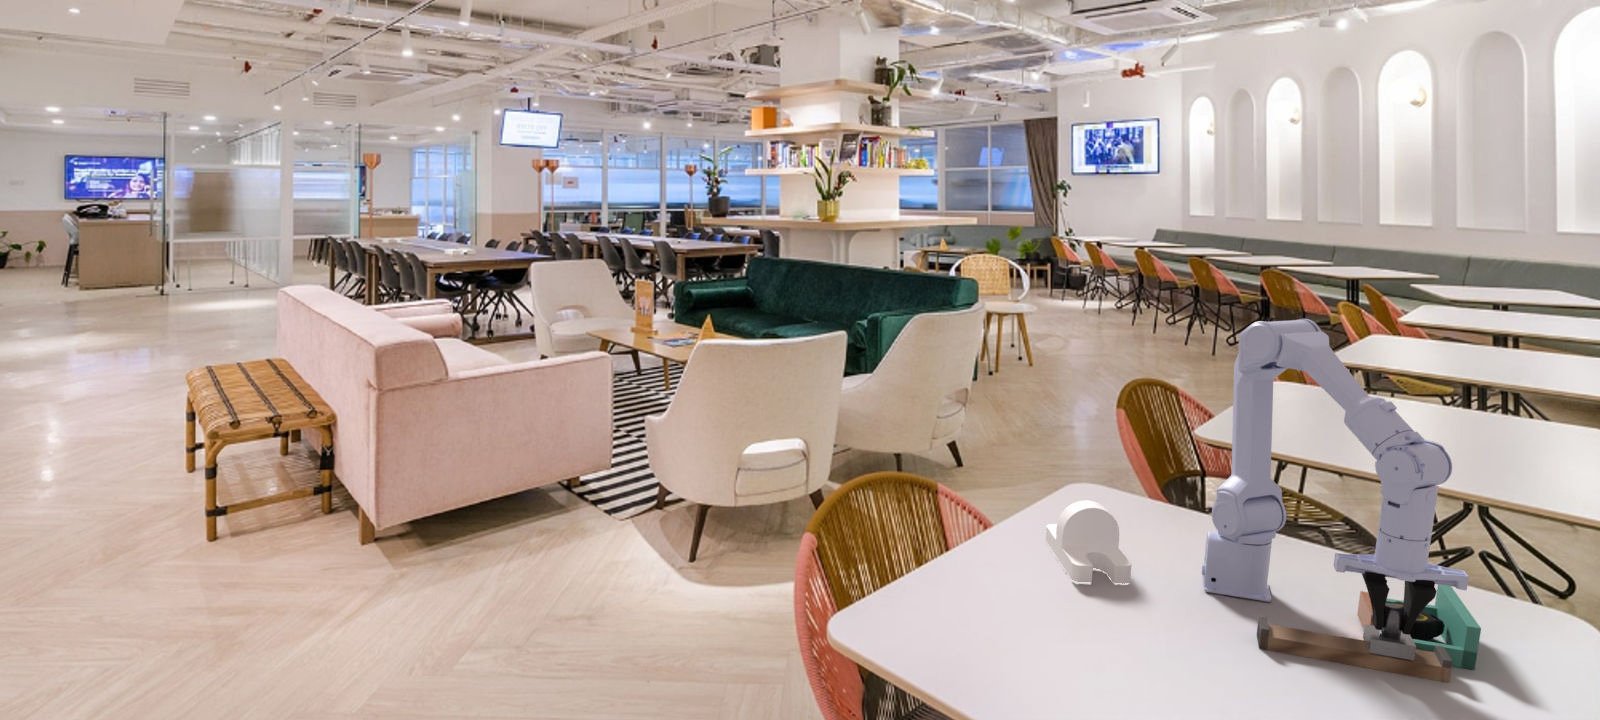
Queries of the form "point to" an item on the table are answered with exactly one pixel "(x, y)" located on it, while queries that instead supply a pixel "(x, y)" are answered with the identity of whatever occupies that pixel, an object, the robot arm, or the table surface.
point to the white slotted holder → (1088, 543)
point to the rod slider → (1385, 630)
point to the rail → (1351, 652)
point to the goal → (1453, 628)
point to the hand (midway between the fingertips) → (1390, 628)
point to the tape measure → (1425, 626)
